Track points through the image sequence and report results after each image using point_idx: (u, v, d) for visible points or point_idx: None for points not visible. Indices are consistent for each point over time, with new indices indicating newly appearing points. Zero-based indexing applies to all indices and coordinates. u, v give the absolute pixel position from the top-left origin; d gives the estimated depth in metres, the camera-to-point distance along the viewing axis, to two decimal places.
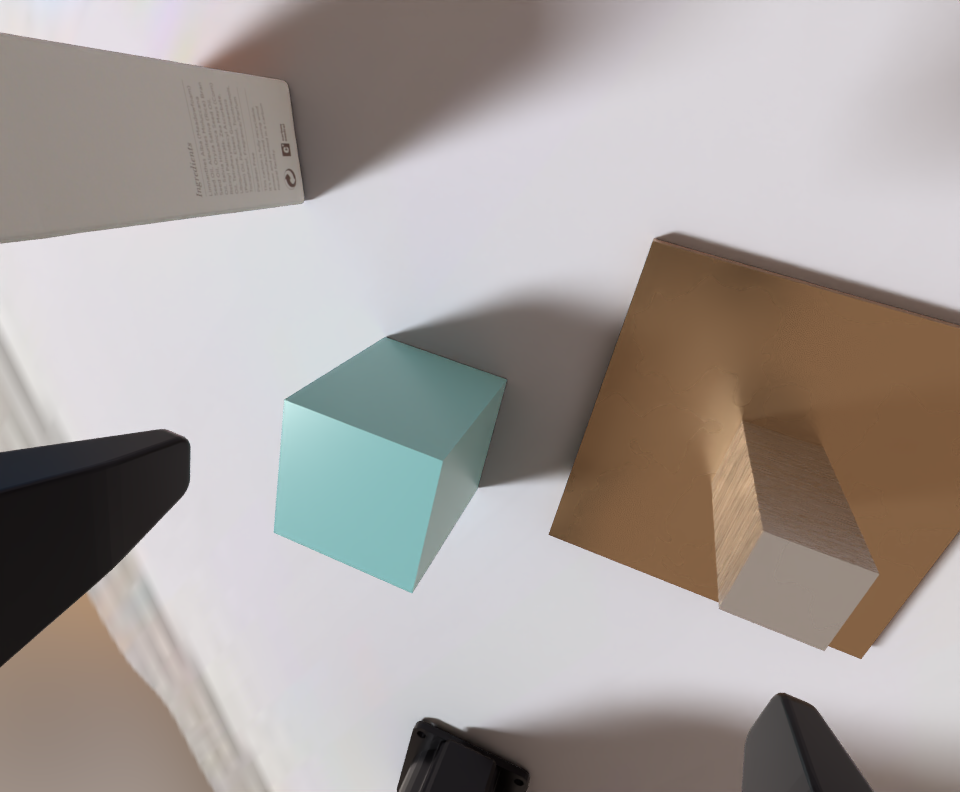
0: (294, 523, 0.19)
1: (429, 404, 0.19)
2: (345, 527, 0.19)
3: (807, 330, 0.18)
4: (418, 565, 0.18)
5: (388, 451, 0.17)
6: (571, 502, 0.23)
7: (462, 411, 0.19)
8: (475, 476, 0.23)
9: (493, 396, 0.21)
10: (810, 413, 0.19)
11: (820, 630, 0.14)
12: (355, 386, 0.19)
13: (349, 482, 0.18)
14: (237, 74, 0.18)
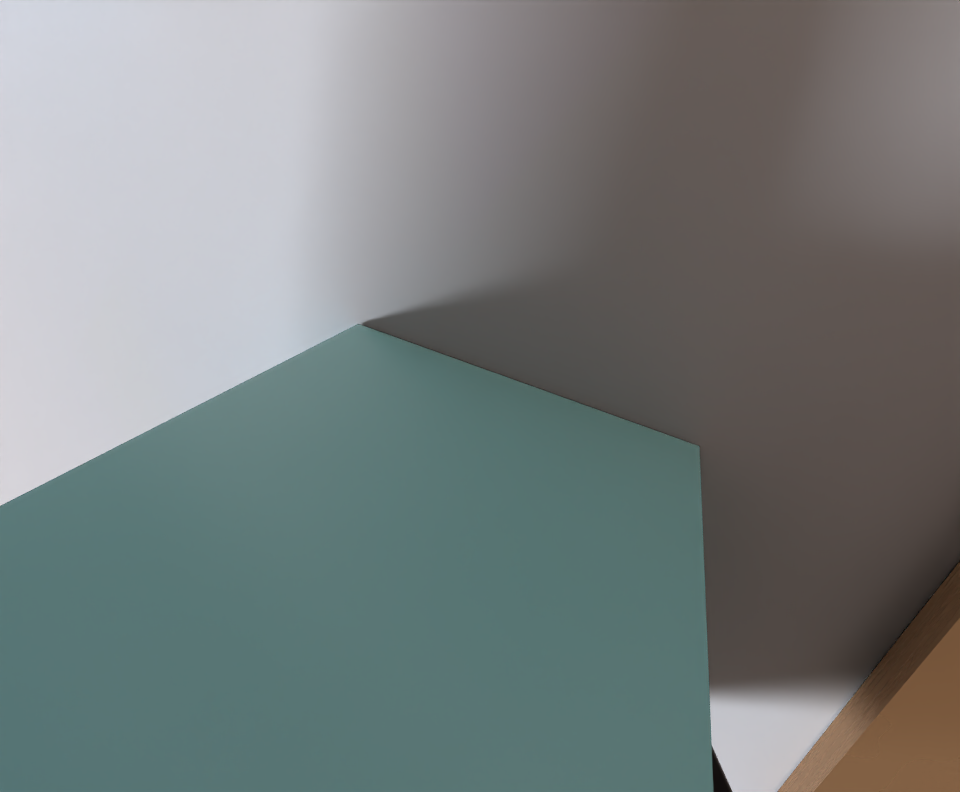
0: None
1: (512, 579, 0.05)
2: None
3: None
4: None
5: None
6: (863, 782, 0.08)
7: (642, 607, 0.05)
8: None
9: (700, 514, 0.06)
10: None
11: None
12: (216, 507, 0.05)
13: None
14: None
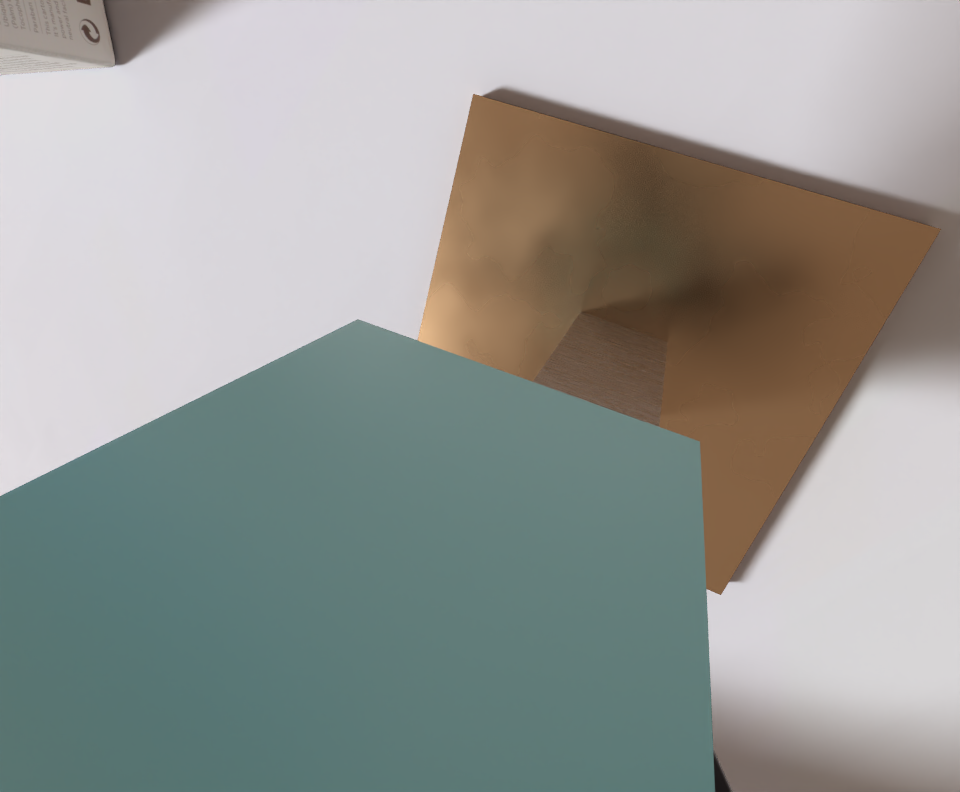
0: None
1: (513, 572, 0.05)
2: None
3: (642, 198, 0.15)
4: None
5: None
6: None
7: (643, 600, 0.05)
8: None
9: (700, 509, 0.06)
10: (651, 300, 0.16)
11: None
12: (214, 499, 0.05)
13: None
14: None
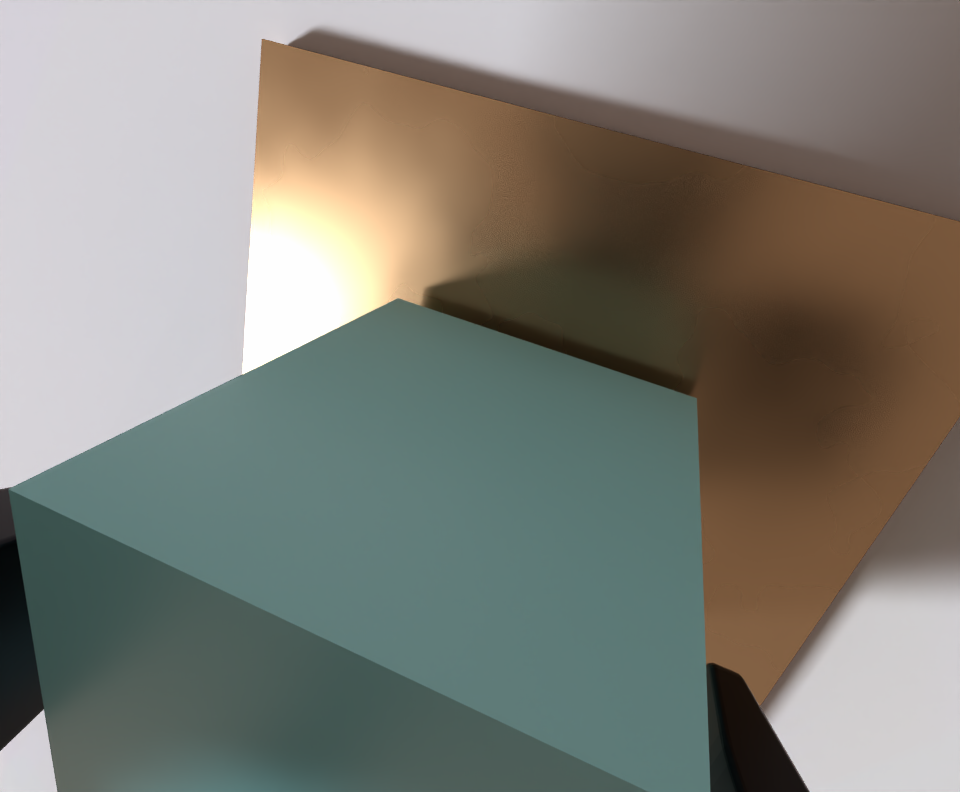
0: None
1: (546, 480, 0.06)
2: None
3: (540, 205, 0.09)
4: None
5: (433, 731, 0.04)
6: None
7: (649, 503, 0.06)
8: None
9: (696, 445, 0.08)
10: None
11: None
12: (312, 424, 0.06)
13: None
14: None
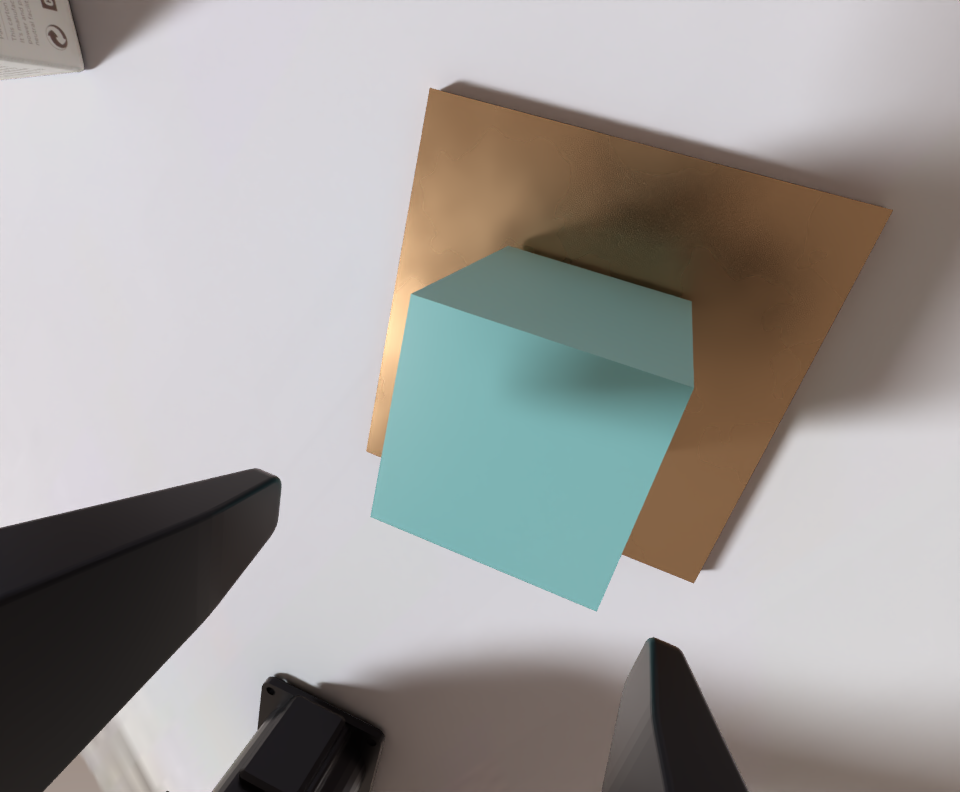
0: (406, 501, 0.12)
1: (617, 317, 0.12)
2: (493, 506, 0.12)
3: (599, 187, 0.16)
4: (614, 567, 0.11)
5: (591, 374, 0.10)
6: (384, 411, 0.20)
7: (667, 329, 0.12)
8: None
9: (691, 316, 0.14)
10: None
11: None
12: (503, 289, 0.12)
13: (511, 433, 0.11)
14: None
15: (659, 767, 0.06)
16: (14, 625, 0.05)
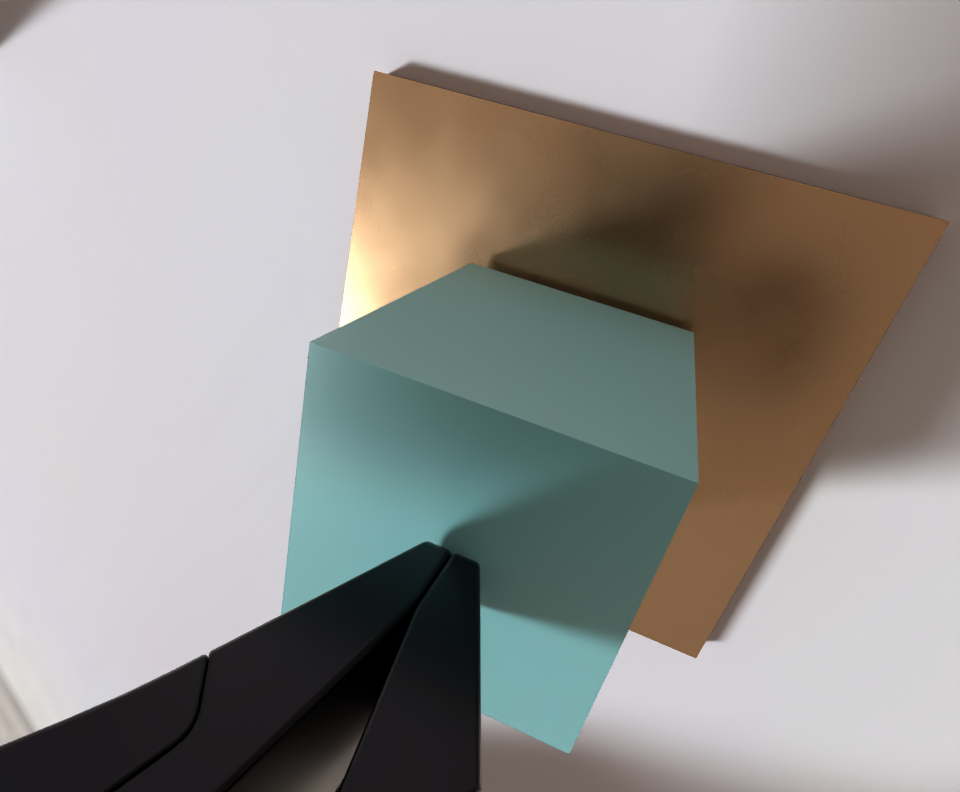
0: None
1: (597, 364, 0.10)
2: None
3: (580, 192, 0.13)
4: (591, 702, 0.09)
5: (554, 458, 0.07)
6: None
7: (662, 379, 0.10)
8: None
9: (693, 356, 0.11)
10: None
11: None
12: (449, 327, 0.09)
13: (450, 528, 0.08)
14: None
15: (400, 646, 0.06)
16: (274, 765, 0.05)
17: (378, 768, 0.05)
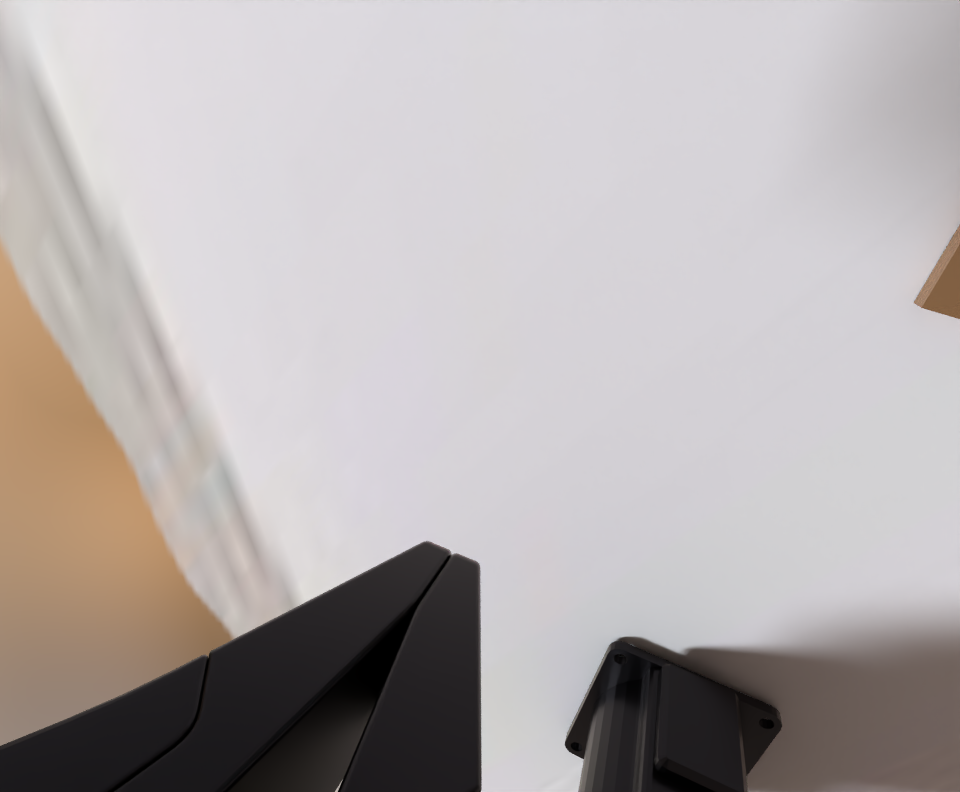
0: None
1: None
2: None
3: None
4: None
5: None
6: None
7: None
8: None
9: None
10: None
11: None
12: None
13: None
14: None
15: (400, 646, 0.06)
16: (274, 765, 0.05)
17: (378, 768, 0.05)
